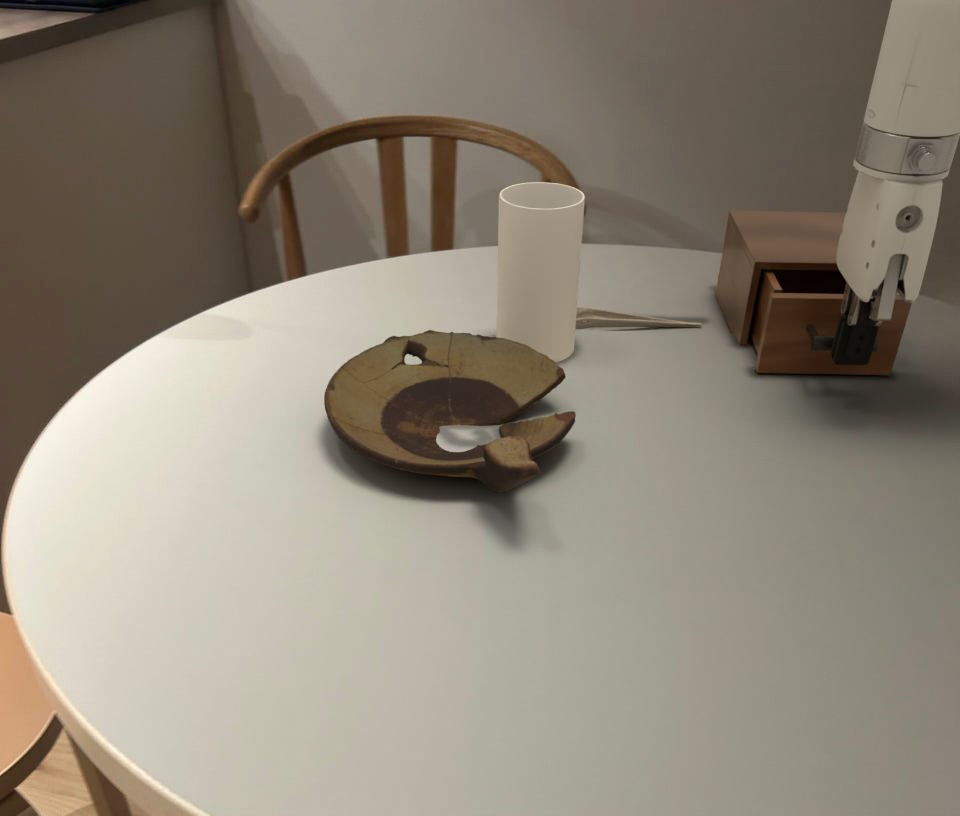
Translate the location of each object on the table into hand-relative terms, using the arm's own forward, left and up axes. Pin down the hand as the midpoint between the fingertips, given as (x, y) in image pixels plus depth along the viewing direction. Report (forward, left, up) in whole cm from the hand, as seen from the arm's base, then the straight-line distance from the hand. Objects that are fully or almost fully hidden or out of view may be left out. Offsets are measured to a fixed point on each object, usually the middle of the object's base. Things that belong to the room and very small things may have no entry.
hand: (848, 360), depth 93 cm
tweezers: (+19, -18, -5) cm, 27 cm away
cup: (+29, -11, -5) cm, 32 cm away
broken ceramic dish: (+37, +10, -5) cm, 39 cm away
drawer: (0, -11, -4) cm, 12 cm away
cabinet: (0, -20, -5) cm, 21 cm away
